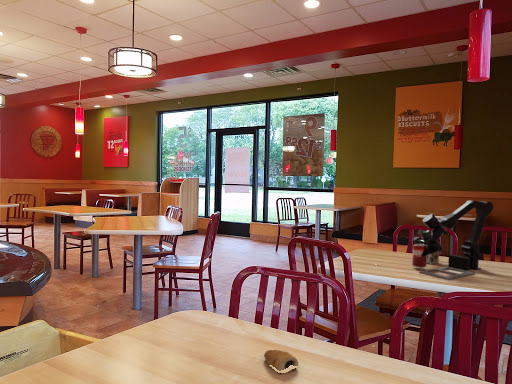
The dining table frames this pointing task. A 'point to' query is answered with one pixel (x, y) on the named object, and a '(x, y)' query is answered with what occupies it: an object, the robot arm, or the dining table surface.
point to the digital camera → (459, 262)
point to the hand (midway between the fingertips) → (417, 254)
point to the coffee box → (433, 256)
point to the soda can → (419, 256)
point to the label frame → (450, 271)
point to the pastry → (280, 359)
